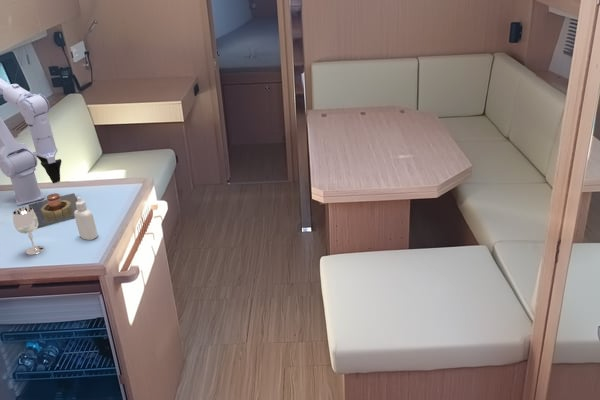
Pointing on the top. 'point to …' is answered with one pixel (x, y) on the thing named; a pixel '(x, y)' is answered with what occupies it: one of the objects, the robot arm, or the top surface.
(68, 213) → the collar plate
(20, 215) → the wineglass
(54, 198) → the round knob
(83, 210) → the eye dropper bottle
